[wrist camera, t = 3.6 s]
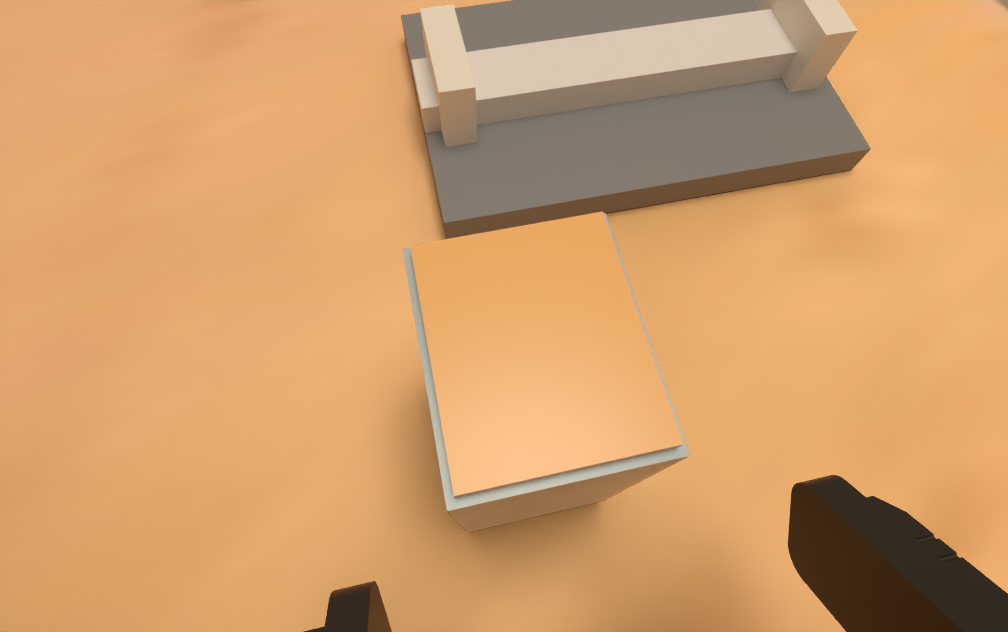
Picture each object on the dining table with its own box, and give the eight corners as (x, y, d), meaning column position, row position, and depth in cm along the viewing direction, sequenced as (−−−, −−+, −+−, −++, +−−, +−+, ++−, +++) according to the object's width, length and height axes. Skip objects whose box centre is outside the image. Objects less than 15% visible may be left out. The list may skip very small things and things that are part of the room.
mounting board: (446, 241, 25) (437, 174, 20) (405, 40, 30) (390, -48, 25) (851, 169, 27) (920, 95, 22) (747, -7, 32) (787, -96, 27)
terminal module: (468, 533, 20) (445, 509, 10) (440, 376, 22) (400, 239, 13) (601, 502, 20) (697, 452, 11) (559, 352, 23) (608, 203, 13)
